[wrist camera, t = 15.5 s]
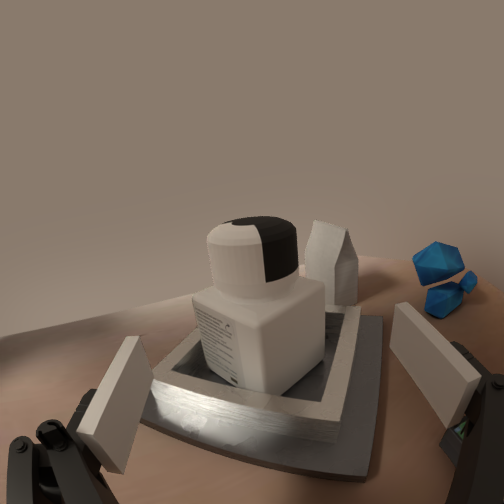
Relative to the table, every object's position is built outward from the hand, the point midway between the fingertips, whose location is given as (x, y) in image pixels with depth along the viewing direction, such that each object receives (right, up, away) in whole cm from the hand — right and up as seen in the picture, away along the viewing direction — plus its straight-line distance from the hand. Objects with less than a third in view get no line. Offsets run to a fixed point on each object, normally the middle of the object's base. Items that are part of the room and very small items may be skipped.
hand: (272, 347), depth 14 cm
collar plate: (+1, -6, +12) cm, 13 cm away
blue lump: (+23, -3, +17) cm, 28 cm away
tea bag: (+10, -2, +24) cm, 26 cm away
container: (0, -6, +11) cm, 13 cm away
